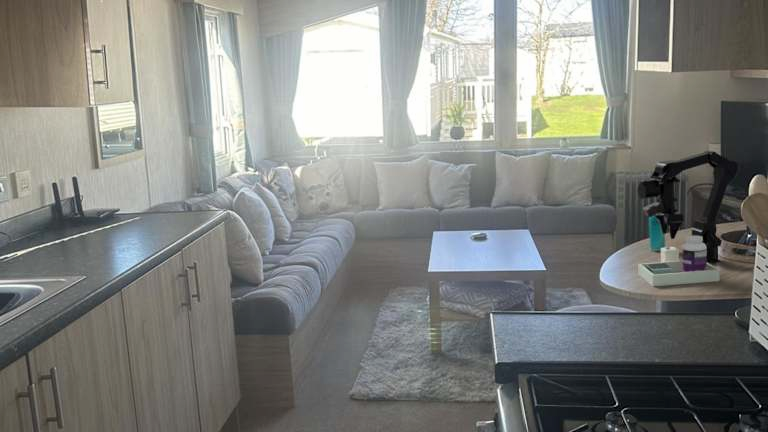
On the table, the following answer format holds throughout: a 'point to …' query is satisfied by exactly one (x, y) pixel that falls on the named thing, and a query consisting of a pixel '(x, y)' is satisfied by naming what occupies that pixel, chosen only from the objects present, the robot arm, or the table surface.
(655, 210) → the robot arm
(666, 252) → the carton
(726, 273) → the table surface
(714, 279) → the tote
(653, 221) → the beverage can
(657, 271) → the tin
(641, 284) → the table surface
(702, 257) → the pill bottle
